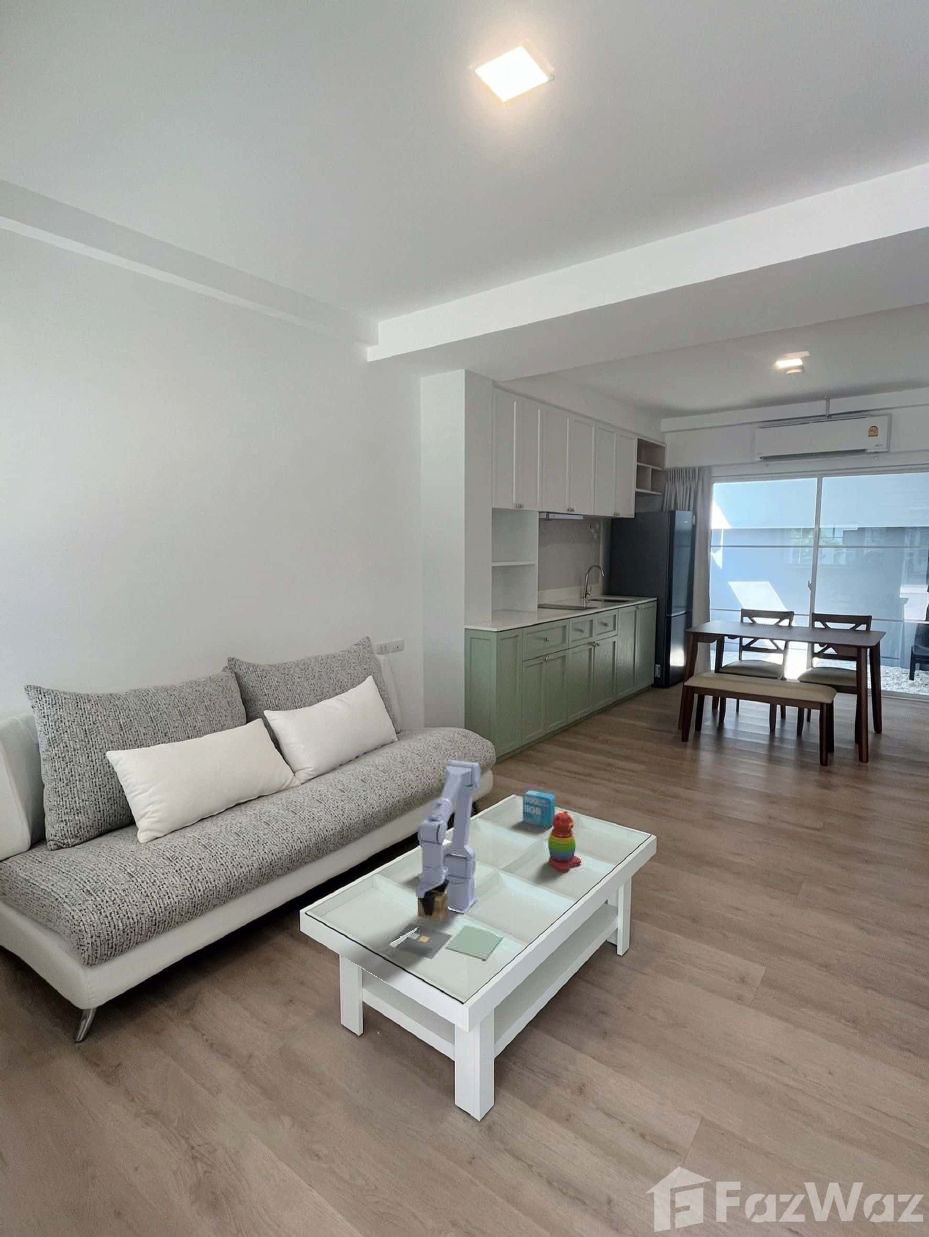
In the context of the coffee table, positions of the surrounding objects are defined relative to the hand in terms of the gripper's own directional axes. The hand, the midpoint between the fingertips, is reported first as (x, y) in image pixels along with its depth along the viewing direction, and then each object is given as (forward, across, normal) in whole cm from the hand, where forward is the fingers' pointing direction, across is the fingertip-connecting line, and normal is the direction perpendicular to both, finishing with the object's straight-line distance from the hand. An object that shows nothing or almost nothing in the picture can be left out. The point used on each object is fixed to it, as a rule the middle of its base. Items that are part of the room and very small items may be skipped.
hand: (433, 910), depth 184 cm
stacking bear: (+9, -59, +18) cm, 62 cm away
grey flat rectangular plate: (+9, +2, -3) cm, 9 cm away
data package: (+9, -87, -2) cm, 87 cm away
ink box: (+9, -34, -17) cm, 39 cm away
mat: (+9, -4, +11) cm, 15 cm away
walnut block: (+2, 0, 0) cm, 2 cm away
